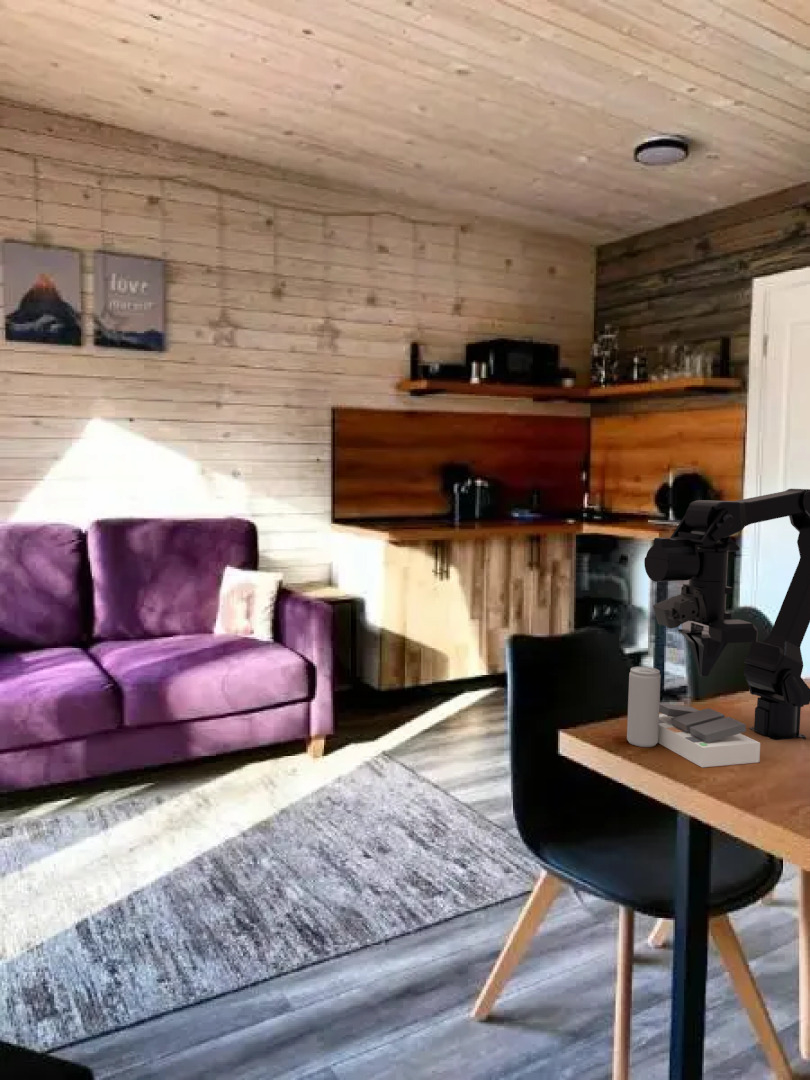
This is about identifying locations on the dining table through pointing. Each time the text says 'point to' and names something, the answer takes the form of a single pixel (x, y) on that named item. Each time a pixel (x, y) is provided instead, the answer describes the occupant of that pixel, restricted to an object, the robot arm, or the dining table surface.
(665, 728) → the rocker switch panel
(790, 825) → the dining table surface
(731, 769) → the dining table surface
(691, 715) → the block
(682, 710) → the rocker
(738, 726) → the block
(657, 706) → the beverage can
